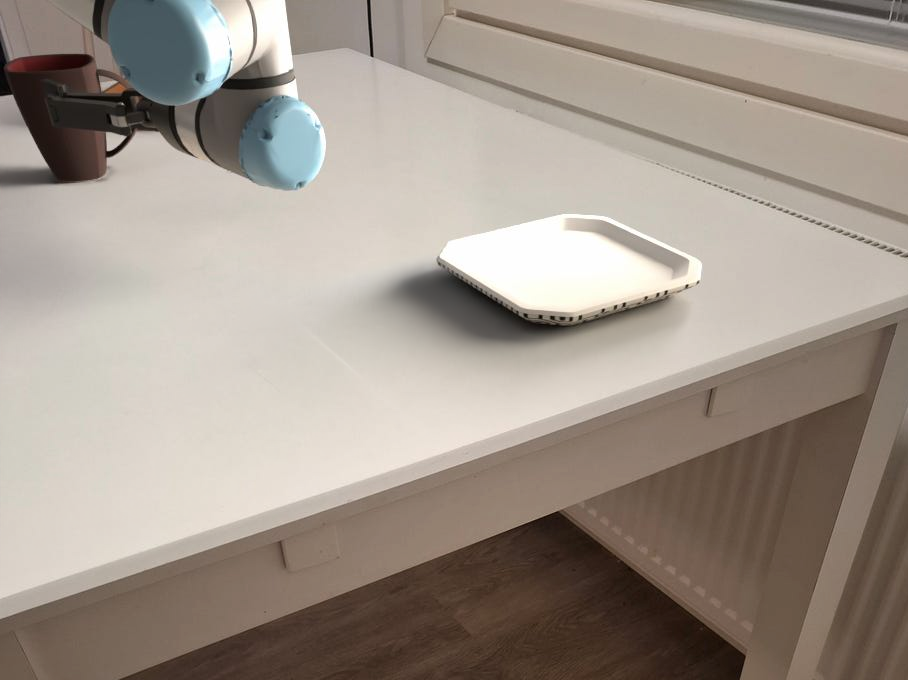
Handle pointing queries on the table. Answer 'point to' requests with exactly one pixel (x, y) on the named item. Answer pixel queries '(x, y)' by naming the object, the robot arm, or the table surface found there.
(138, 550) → the table surface
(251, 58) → the robot arm
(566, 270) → the plate
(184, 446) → the table surface
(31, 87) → the cup
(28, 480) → the table surface
